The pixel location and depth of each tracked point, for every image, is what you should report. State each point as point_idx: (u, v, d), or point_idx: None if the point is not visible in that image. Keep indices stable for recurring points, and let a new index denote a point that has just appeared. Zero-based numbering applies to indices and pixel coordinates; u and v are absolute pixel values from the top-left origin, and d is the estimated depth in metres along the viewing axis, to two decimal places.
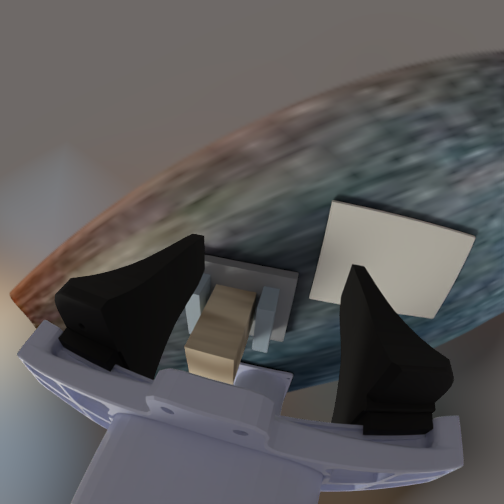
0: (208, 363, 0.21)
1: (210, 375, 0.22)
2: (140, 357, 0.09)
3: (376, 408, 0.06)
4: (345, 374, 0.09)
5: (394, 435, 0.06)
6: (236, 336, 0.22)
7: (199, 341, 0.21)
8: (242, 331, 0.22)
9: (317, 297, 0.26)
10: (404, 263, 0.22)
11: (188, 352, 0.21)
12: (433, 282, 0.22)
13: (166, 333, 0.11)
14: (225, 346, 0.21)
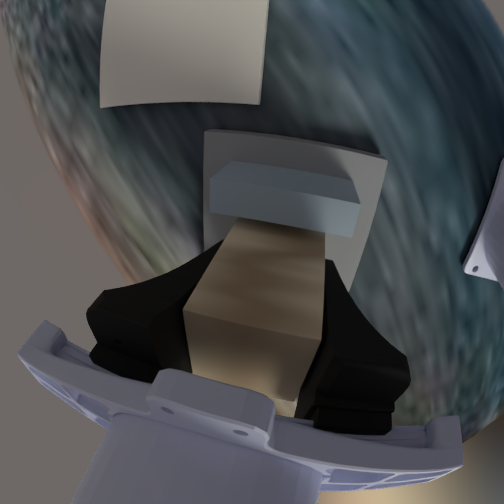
0: (230, 362, 0.09)
1: (287, 373, 0.08)
2: None
3: (325, 403, 0.06)
4: None
5: (347, 434, 0.06)
6: None
7: None
8: (216, 255, 0.10)
9: (252, 89, 0.12)
10: None
11: None
12: None
13: None
14: None
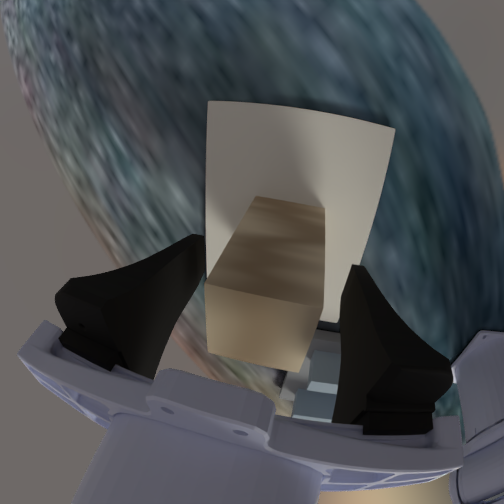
0: (242, 332, 0.10)
1: (293, 342, 0.10)
2: (140, 357, 0.09)
3: (376, 408, 0.06)
4: (345, 374, 0.09)
5: (394, 435, 0.06)
6: None
7: None
8: None
9: (335, 315, 0.19)
10: None
11: (222, 352, 0.11)
12: (305, 154, 0.14)
13: (166, 333, 0.11)
14: None
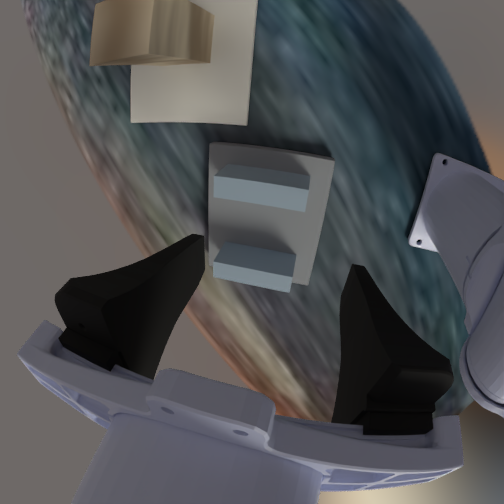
0: (111, 28, 0.09)
1: (141, 19, 0.09)
2: (140, 357, 0.09)
3: (376, 408, 0.06)
4: (345, 374, 0.09)
5: (394, 435, 0.06)
6: None
7: None
8: None
9: (242, 115, 0.18)
10: None
11: (98, 59, 0.10)
12: None
13: (166, 333, 0.11)
14: None
